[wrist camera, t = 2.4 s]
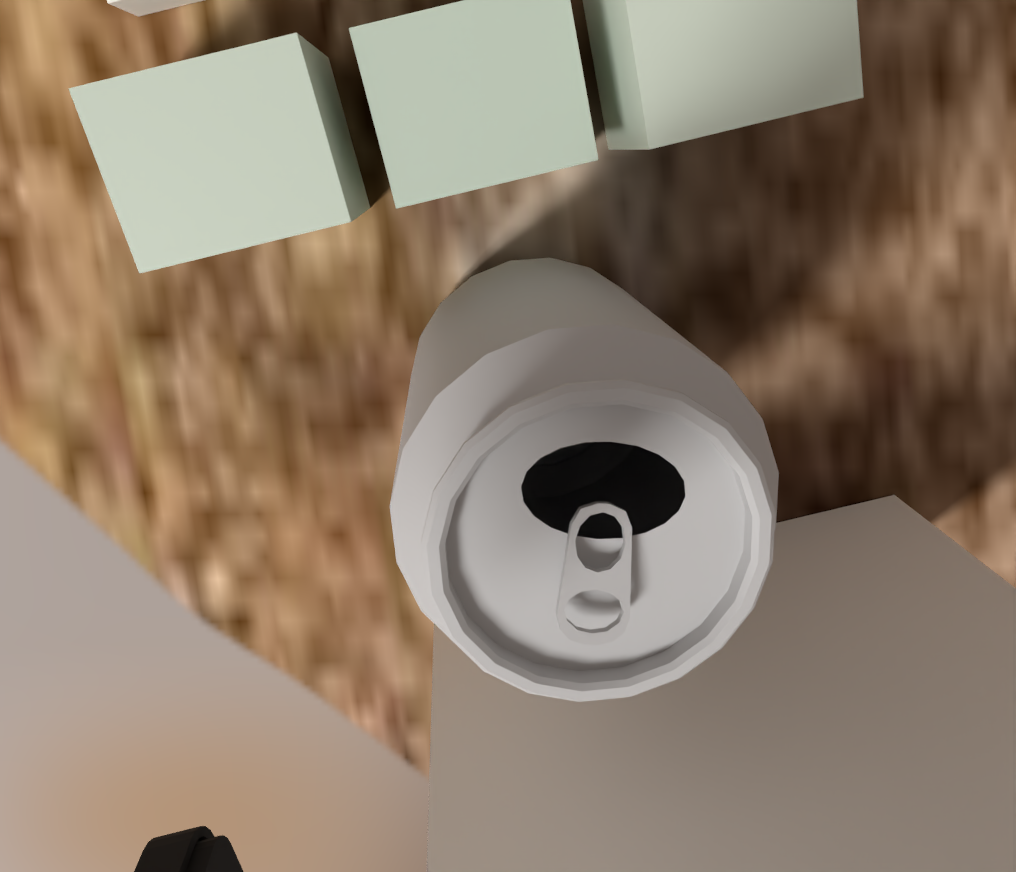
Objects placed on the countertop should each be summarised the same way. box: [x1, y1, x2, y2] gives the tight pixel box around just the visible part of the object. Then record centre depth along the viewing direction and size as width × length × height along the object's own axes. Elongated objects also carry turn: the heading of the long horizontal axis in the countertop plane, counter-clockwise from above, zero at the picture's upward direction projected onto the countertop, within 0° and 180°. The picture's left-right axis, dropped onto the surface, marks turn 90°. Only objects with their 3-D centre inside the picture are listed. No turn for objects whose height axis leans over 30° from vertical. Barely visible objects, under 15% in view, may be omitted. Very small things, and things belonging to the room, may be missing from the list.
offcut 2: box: [583, 0, 864, 150], centre depth 20 cm, size 4×5×5 cm
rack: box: [107, 0, 1016, 872], centre depth 18 cm, size 22×19×14 cm
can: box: [390, 258, 779, 702], centre depth 20 cm, size 8×8×12 cm
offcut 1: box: [69, 33, 370, 273], centre depth 20 cm, size 4×5×5 cm
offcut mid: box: [349, 0, 598, 209], centre depth 21 cm, size 4×5×4 cm
